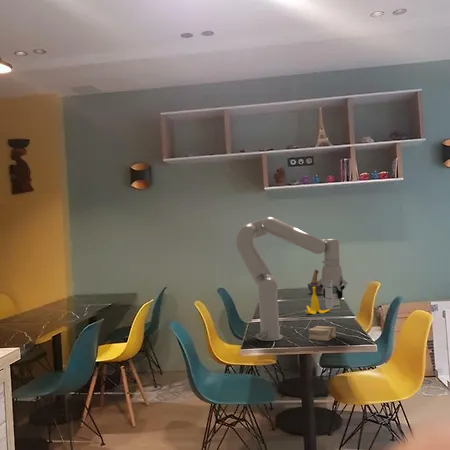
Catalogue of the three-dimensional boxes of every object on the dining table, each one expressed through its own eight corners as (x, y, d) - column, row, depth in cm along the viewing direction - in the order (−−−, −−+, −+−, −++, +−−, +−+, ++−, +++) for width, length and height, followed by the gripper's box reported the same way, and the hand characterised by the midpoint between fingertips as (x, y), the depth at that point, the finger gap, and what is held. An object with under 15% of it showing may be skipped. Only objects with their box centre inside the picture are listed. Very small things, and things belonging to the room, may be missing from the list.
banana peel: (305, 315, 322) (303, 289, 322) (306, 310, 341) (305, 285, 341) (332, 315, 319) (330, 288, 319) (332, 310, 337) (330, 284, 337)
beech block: (327, 341, 251) (327, 331, 251) (309, 339, 256) (308, 329, 256) (335, 337, 259) (335, 327, 259) (317, 335, 265) (317, 325, 265)
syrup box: (332, 309, 257) (331, 280, 257) (325, 307, 262) (324, 279, 263) (341, 308, 260) (341, 279, 260) (334, 306, 265) (333, 278, 265)
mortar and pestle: (322, 296, 401) (320, 270, 401) (302, 295, 410) (301, 270, 410) (329, 293, 413) (327, 268, 413) (309, 293, 422) (308, 268, 423)
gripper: (313, 263, 264) (314, 297, 264) (343, 264, 252) (344, 300, 252) (320, 262, 270) (321, 295, 270) (351, 263, 258) (352, 298, 258)
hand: (332, 297), depth 261 cm, fingers closed on syrup box, 7 cm apart
